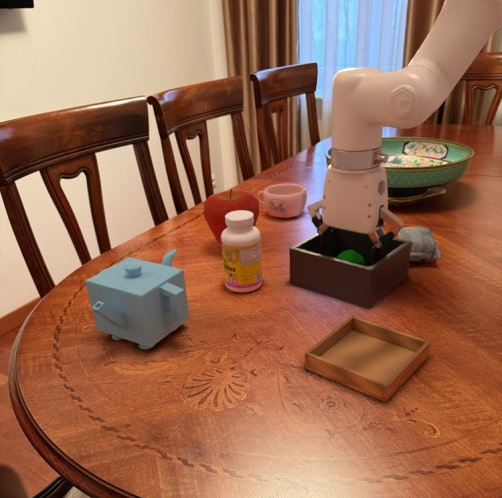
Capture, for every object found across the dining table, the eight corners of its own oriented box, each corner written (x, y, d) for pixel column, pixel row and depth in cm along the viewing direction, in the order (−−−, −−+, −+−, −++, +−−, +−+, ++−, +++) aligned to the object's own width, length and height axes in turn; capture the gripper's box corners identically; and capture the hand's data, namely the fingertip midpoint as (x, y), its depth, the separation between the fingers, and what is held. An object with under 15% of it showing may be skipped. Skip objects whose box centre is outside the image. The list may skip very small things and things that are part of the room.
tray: (428, 357, 70) (430, 341, 69) (385, 402, 63) (387, 386, 62) (351, 330, 77) (352, 315, 76) (304, 368, 70) (304, 352, 68)
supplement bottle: (219, 281, 93) (213, 212, 86) (254, 274, 95) (250, 205, 88) (232, 297, 88) (226, 224, 81) (268, 288, 90) (265, 217, 83)
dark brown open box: (407, 277, 91) (411, 241, 87) (368, 308, 82) (371, 270, 79) (332, 256, 100) (333, 224, 96) (289, 283, 91) (289, 248, 88)
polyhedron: (367, 274, 91) (369, 248, 89) (357, 285, 88) (359, 259, 85) (341, 269, 94) (342, 244, 91) (330, 280, 90) (330, 254, 88)
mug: (312, 209, 123) (312, 184, 120) (297, 223, 116) (297, 197, 113) (266, 205, 128) (265, 180, 125) (249, 218, 120) (247, 193, 117)
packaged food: (390, 269, 94) (393, 243, 91) (382, 244, 104) (385, 220, 101) (440, 269, 93) (444, 243, 90) (427, 243, 103) (430, 219, 100)
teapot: (69, 346, 77) (49, 277, 71) (149, 295, 90) (138, 233, 84) (149, 375, 70) (135, 302, 64) (224, 315, 83) (218, 249, 77)
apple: (247, 233, 112) (244, 177, 106) (270, 250, 104) (268, 190, 98) (200, 244, 109) (193, 186, 102) (219, 262, 100) (214, 201, 94)
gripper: (419, 158, 77) (407, 264, 86) (322, 147, 87) (320, 243, 96) (395, 170, 73) (386, 281, 82) (295, 157, 83) (297, 257, 92)
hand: (350, 260), depth 89 cm, fingers open, 9 cm apart
